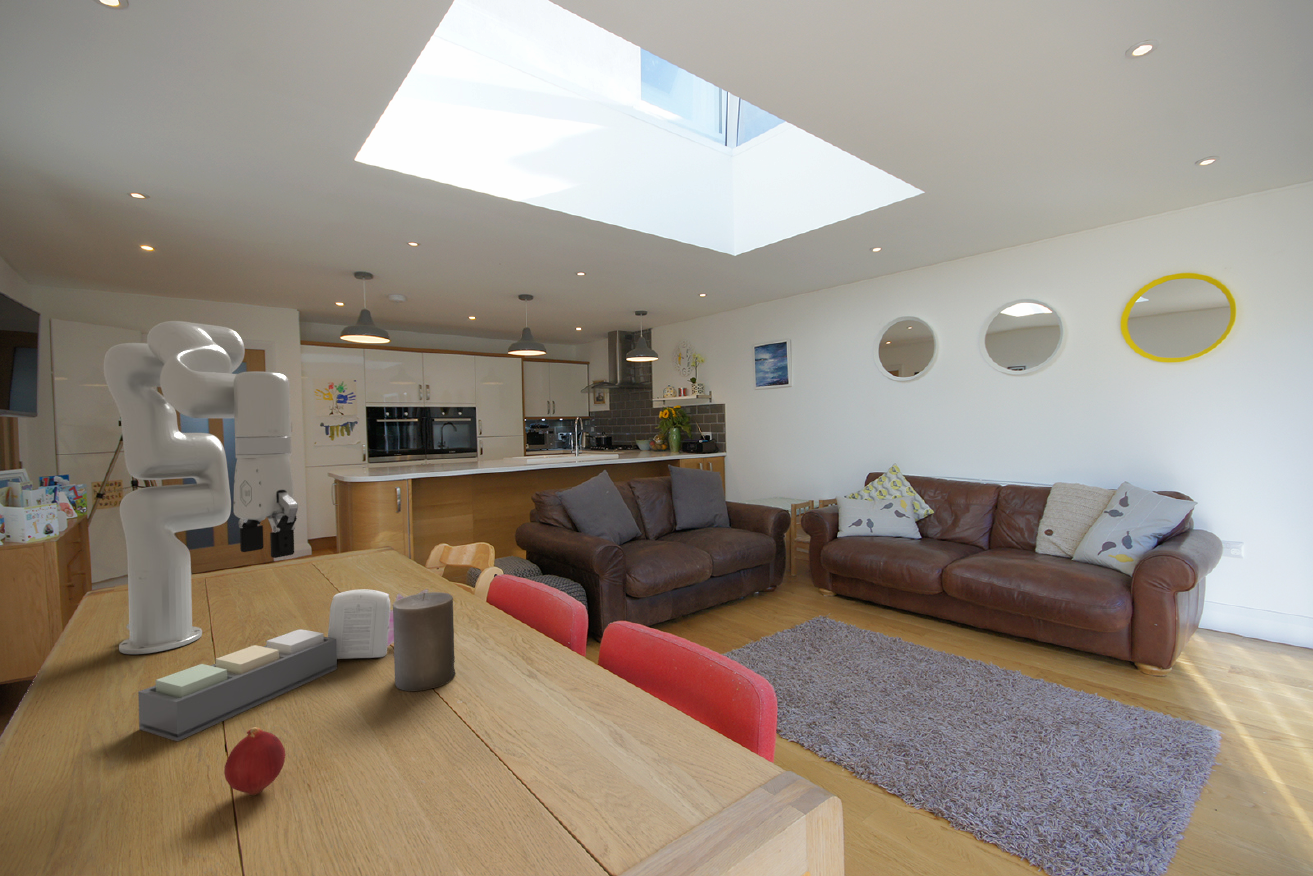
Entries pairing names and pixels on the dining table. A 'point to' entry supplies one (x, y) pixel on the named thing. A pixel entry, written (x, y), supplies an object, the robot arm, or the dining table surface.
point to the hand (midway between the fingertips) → (267, 553)
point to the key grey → (295, 641)
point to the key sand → (247, 659)
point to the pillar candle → (423, 641)
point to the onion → (255, 762)
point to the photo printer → (360, 623)
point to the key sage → (190, 680)
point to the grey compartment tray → (233, 693)
